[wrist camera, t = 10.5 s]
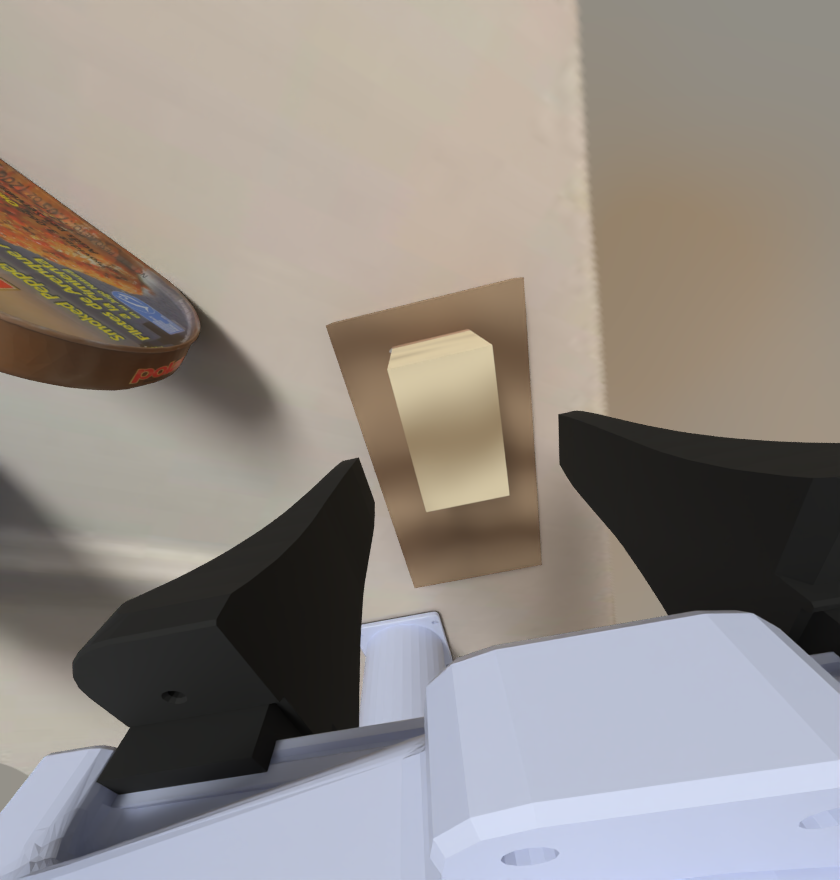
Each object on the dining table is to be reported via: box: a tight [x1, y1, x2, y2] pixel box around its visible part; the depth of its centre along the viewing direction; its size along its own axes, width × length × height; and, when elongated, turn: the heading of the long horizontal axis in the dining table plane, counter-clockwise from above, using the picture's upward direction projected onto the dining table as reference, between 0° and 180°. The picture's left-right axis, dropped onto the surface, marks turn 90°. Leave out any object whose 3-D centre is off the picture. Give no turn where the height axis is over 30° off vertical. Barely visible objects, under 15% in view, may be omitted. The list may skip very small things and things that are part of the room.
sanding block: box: [387, 329, 509, 512], centre depth 15 cm, size 7×4×5 cm, turn 13°
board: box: [326, 277, 542, 588], centre depth 20 cm, size 20×10×2 cm, turn 13°
